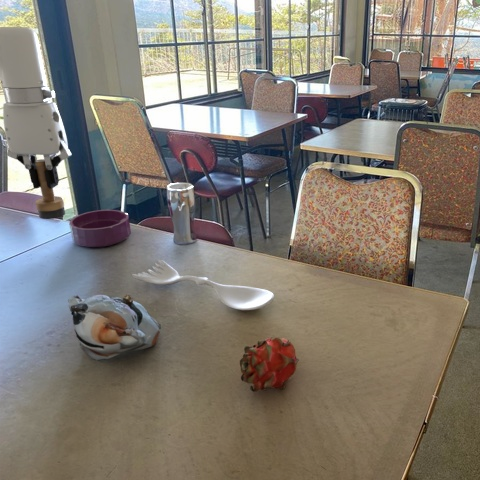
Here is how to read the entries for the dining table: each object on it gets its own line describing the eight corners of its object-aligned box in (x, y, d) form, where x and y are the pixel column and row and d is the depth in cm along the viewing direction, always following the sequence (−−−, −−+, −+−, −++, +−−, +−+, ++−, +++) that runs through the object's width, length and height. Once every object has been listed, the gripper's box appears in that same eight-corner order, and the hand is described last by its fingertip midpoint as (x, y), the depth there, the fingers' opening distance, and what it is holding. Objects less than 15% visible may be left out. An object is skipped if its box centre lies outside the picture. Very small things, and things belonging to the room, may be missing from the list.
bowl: (63, 249, 121) (59, 229, 119) (86, 228, 134) (83, 209, 132) (120, 249, 122) (117, 229, 120) (138, 228, 135) (135, 209, 133)
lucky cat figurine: (176, 333, 89) (163, 295, 78) (129, 388, 82) (107, 354, 71) (115, 295, 93) (94, 253, 82) (66, 344, 86) (35, 306, 75)
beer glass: (192, 246, 125) (187, 191, 119) (167, 244, 125) (160, 189, 119) (202, 236, 131) (198, 183, 125) (178, 234, 132) (172, 181, 126)
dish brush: (33, 219, 101) (21, 163, 96) (46, 210, 106) (34, 157, 101) (58, 219, 101) (47, 164, 96) (70, 211, 106) (59, 157, 101)
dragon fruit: (240, 411, 74) (286, 377, 84) (278, 400, 69) (322, 366, 79) (217, 360, 74) (266, 332, 84) (254, 346, 69) (300, 319, 79)
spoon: (160, 269, 112) (158, 256, 111) (281, 300, 101) (281, 286, 99) (132, 286, 105) (130, 272, 103) (259, 322, 93) (259, 307, 92)
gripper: (77, 94, 97) (92, 182, 105) (-4, 92, 97) (17, 180, 104) (59, 99, 90) (76, 192, 98) (-27, 97, 90) (-3, 191, 97)
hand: (46, 185), depth 101 cm, fingers closed on dish brush
